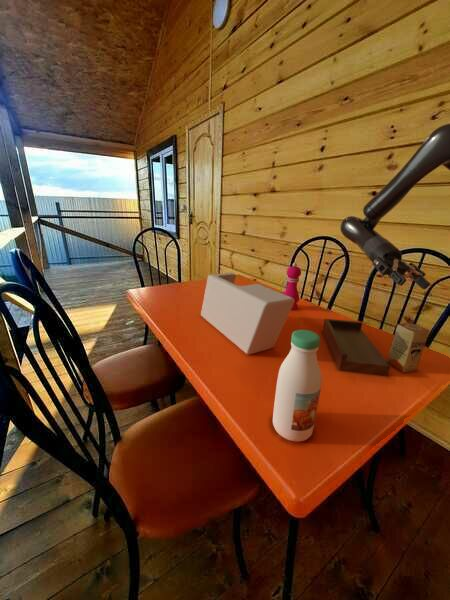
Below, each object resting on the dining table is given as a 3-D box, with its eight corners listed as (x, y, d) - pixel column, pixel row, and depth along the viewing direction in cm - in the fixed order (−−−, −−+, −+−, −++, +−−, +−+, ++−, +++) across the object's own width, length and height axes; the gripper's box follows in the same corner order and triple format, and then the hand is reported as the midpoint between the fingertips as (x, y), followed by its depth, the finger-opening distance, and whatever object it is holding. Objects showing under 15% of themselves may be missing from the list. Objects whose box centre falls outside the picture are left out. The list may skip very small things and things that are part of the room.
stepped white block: (263, 369, 85) (296, 299, 67) (237, 378, 80) (265, 304, 62) (222, 311, 105) (239, 245, 87) (199, 315, 100) (213, 246, 82)
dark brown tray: (358, 334, 89) (361, 321, 87) (387, 376, 66) (392, 359, 65) (322, 331, 90) (324, 318, 89) (339, 370, 68) (342, 354, 66)
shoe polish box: (386, 362, 73) (397, 324, 69) (400, 360, 74) (411, 322, 70) (402, 372, 68) (414, 332, 64) (416, 370, 69) (429, 330, 65)
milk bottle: (272, 439, 47) (284, 343, 40) (271, 409, 54) (281, 323, 47) (316, 446, 46) (335, 348, 39) (308, 414, 53) (324, 327, 46)
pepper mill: (280, 309, 110) (285, 263, 104) (282, 303, 117) (286, 260, 110) (297, 311, 108) (303, 265, 102) (298, 305, 115) (304, 262, 108)
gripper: (370, 238, 76) (404, 270, 65) (406, 245, 80) (445, 277, 69) (355, 259, 81) (385, 292, 70) (390, 265, 85) (424, 297, 73)
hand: (415, 285), depth 69 cm, fingers open, 8 cm apart
